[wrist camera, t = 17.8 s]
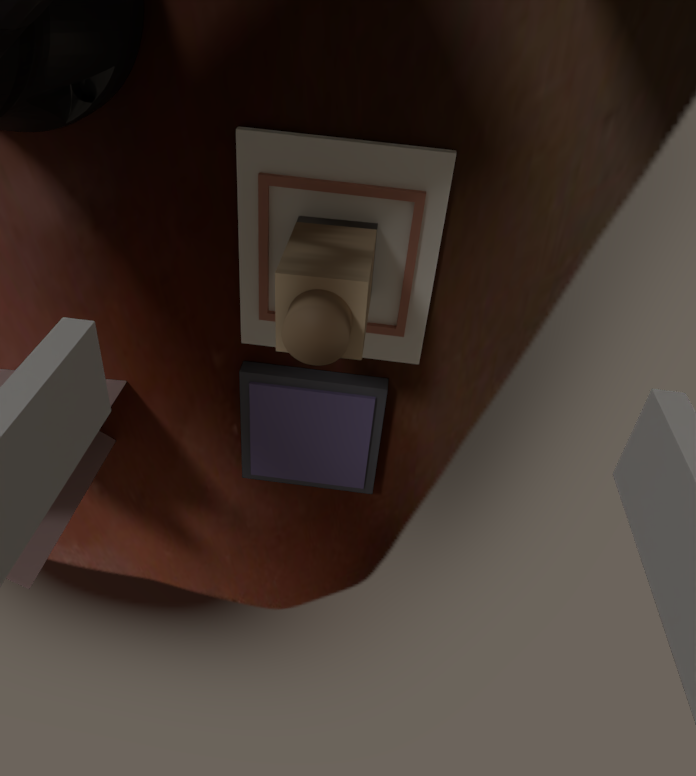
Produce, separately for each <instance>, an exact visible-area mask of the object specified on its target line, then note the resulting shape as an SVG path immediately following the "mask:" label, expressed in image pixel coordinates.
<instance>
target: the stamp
mask: <svg viewBox="0 0 696 776" xmlns="http://www.w3.org/2000/svg"><path fill="white" fill-rule="evenodd" d="M377 227H378V223H369V222H359V221H349V220H338V219H328V218H317V217H307V216H299V217H298V219H297V222H296V224H295V226H294V229H293V231H292V234H291V236H290V238H289V241H288V243H287V245H286V248H285V250H284V253H283V255H282V257H281V260H280V262H279V265H278V267H277V269H276V272H275V324H276V351H279V352H288V353H290V354H291V355H292V356H293V357H294V358H296V359H297V360H299V361H301V362H303V363H305V364H309V365H316V366H320V365H327V364H331V363H333V362H335V361H337V360H338V359H340V358H345V359H355V360H362V355H363V348H364V341H365V334H366V327H367V321H368V314H369V307H370V300H371V292H372V281H373V271H374V260H375V249H376V238H377Z"/></svg>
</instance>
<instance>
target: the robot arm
mask: <svg viewBox="0 0 696 776" xmlns="http://www.w3.org/2000/svg"><path fill="white" fill-rule="evenodd" d="M143 15H144V8H143V0H0V130H6V131H17V132H40V131H47V130H53V129H57V128H61V127H64V126H67V125H69V124H72V123H74V122H76V121H78V120H80V119H82V118H84V117H85V116H87V115H89V114H90V113H92V112H94V111H95V110H97V109H98V108H100V107H101V106H103V105H104V104H105V103H106V102H108V101H109V100H110V99H111V98H112V97H113V96H114V95H115V93H116V92H117V91H118V90H119V89H120V87H121V86H122V85H123V83H124V82H125V80H126V78H127V77H128V75H129V73H130V71H131V69H132V67H133V64H134V61H135V59H136V56H137V53H138V49H139V45H140V40H141V35H142V28H143ZM110 412H111V406H110V401H109V396H108V390H107V385H106V380H105V374H104V369H103V363H102V358H101V353H100V347H99V342H98V337H97V331H96V326H95V321H89V320H81V319H73V318H65V317H63V318H62V319H61V320H60V321H59V322H58V324H57V325H56V326H55V327H54V328H53V329H52V330H51V331H50V332H49V334H48V335H47V336H46V337H45V338H44V339H43V340H42V341H41V342H40V344H39V345H38V346H37V347H36V348H35V349H34V350H33V351H32V353H31V354H30V355H29V356H28V357H27V358H26V359H25V360H24V361H23V363H22V364H21V365H20V366H19V367H18V368H17V369H16V370H15V371H14V373H13V374H12V375H11V376H10V377H9V378H8V379H7V380H6V381H5V383H4V384H3V385H2V386H1V387H0V586H1V585H2V583H3V582H4V580H5V579H6V577H7V575H8V574H9V572H10V571H11V569H12V568H13V566H14V564H15V563H16V561H17V560H18V558H19V556H20V555H21V553H22V552H23V550H24V549H25V547H26V545H27V544H28V542H29V541H30V539H31V537H32V536H33V534H34V533H35V531H36V530H37V528H38V526H39V525H40V523H41V522H42V520H43V518H44V517H45V515H46V514H47V512H48V511H49V509H50V507H51V506H52V504H53V503H54V501H55V499H56V498H57V496H58V495H59V493H60V492H61V490H62V488H63V487H64V485H65V484H66V482H67V480H68V479H69V477H70V476H71V474H72V473H73V471H74V469H75V468H76V466H77V465H78V463H79V461H80V460H81V458H82V457H83V455H84V454H85V452H86V450H87V449H88V447H89V446H90V444H91V442H92V441H93V439H94V438H95V436H96V435H97V433H98V431H99V430H100V428H101V427H102V425H103V423H104V422H105V420H106V419H107V417H108V416H109V414H110ZM613 476H614V480H615V482H616V486H617V488H618V492H619V494H620V498H621V501H622V503H623V506H624V510H625V513H626V515H627V519H628V522H629V525H630V528H631V531H632V534H633V537H634V540H635V543H636V546H637V549H638V552H639V555H640V558H641V561H642V564H643V567H644V570H645V573H646V576H647V579H648V582H649V585H650V588H651V591H652V594H653V597H654V600H655V603H656V606H657V609H658V612H659V615H660V618H661V621H662V624H663V627H664V630H665V633H666V636H667V639H668V642H669V645H670V648H671V652H672V655H673V657H674V660H675V663H676V666H677V669H678V673H679V676H680V679H681V682H682V685H683V688H684V691H685V694H686V697H687V700H688V702H689V706H690V709H691V712H692V715H693V718H694V721H695V724H696V412H695V410H694V408H693V406H692V405H691V403H690V400H689V399H688V397H687V395H686V393H684V392H675V391H667V390H658V389H652V390H651V392H650V394H649V396H648V398H647V400H646V402H645V405H644V407H643V409H642V412H641V413H640V416H639V418H638V420H637V422H636V424H635V427H634V429H633V431H632V433H631V435H630V437H629V439H628V442H627V444H626V446H625V448H624V450H623V453H622V455H621V457H620V459H619V461H618V463H617V466H616V468H615V470H614V472H613Z"/></svg>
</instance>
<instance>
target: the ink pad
mask: <svg viewBox="0 0 696 776" xmlns="http://www.w3.org/2000/svg"><path fill="white" fill-rule="evenodd" d="M239 378H240V413H241V448H242V478H250V479H258V480H265V481H273V482H281V483H289V484H297V485H305V486H312V487H320V488H328V489H336V490H344V491H351V492H359V493H367V494H372V493H373V486H374V479H375V473H376V466H377V459H378V452H379V445H380V438H381V432H382V425H383V418H384V411H385V404H386V397H387V391H388V378H380V377H372V376H364V375H355V374H347V373H339V372H331V371H323V370H314V369H306V368H298V367H290V366H282V365H274V364H265V363H257V362H249V361H243V364H242V366H241V369H240V371H239Z"/></svg>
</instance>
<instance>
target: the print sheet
mask: <svg viewBox="0 0 696 776" xmlns="http://www.w3.org/2000/svg"><path fill="white" fill-rule="evenodd" d="M456 154H457V153H456V150H448V149H439V148H430V147H421V146H412V145H403V144H394V143H385V142H376V141H367V140H358V139H349V138H340V137H331V136H322V135H313V134H303V133H294V132H285V131H276V130H267V129H258V128H249V127H240V126H238V127H237V128H236V159H237V198H238V237H239V276H240V315H241V343H246V344H254V345H262V346H271V347H276V324H275V272H276V269H277V267H278V265H279V262H280V260H281V257H282V255H283V253H284V250H285V248H286V245H287V243H288V241H289V238H290V236H291V234H292V231H293V229H294V226H295V224H296V222H297V219H298V217H299V216H307V217H317V218H328V219H338V220H349V221H359V222H369V223H378V227H377V238H376V249H375V260H374V271H373V281H372V292H371V300H370V307H369V314H368V321H367V327H366V334H365V341H364V348H363V355H362V358H370V359H378V360H386V361H394V362H403V363H411V364H419V361H420V356H421V350H422V344H423V339H424V333H425V328H426V322H427V316H428V311H429V305H430V300H431V294H432V288H433V283H434V277H435V272H436V266H437V260H438V255H439V249H440V243H441V238H442V232H443V227H444V221H445V215H446V210H447V204H448V199H449V193H450V187H451V182H452V176H453V171H454V165H455V159H456Z"/></svg>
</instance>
